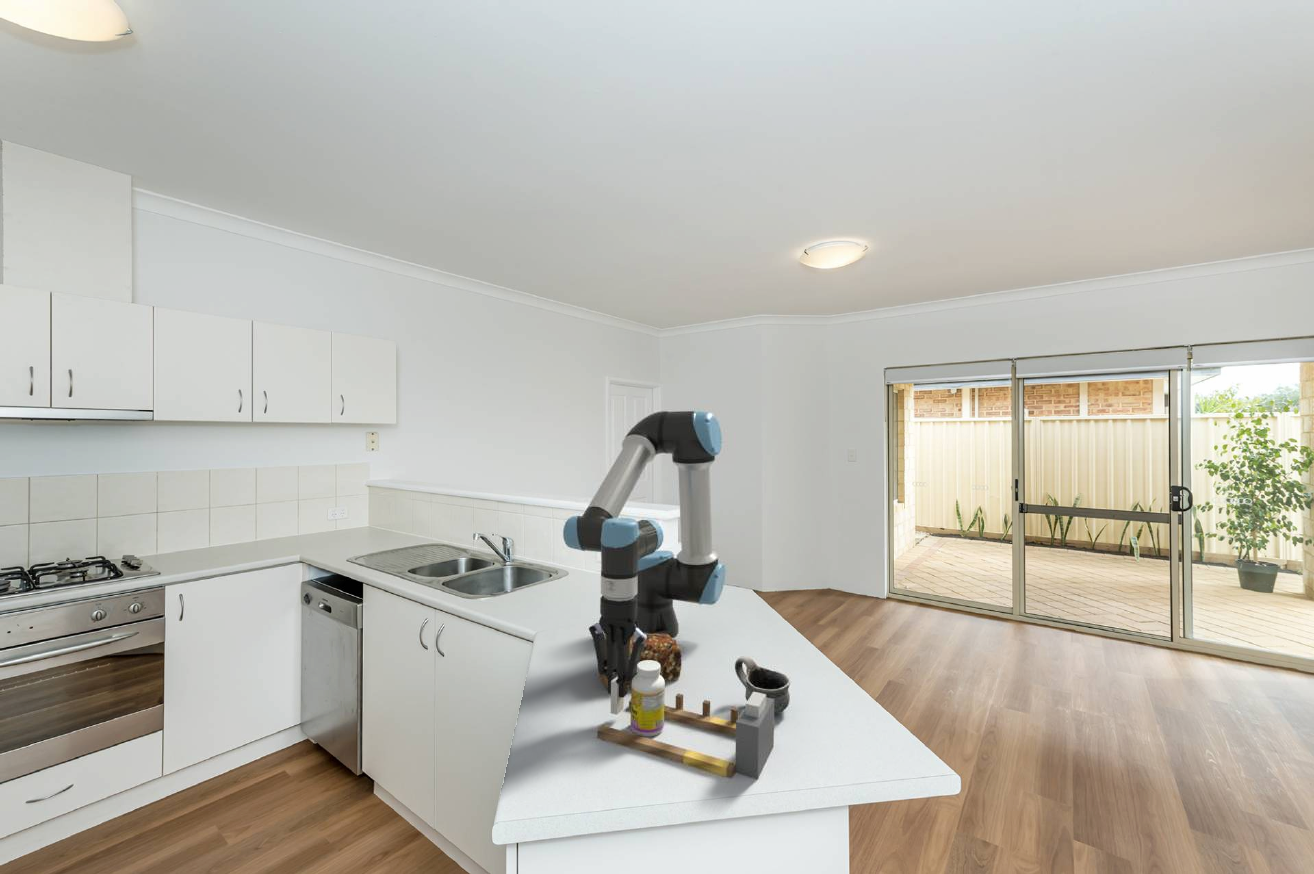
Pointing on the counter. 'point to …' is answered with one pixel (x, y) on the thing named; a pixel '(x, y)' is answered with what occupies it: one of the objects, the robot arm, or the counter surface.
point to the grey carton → (754, 735)
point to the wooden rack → (679, 753)
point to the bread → (657, 656)
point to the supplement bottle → (647, 699)
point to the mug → (764, 682)
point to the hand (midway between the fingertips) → (617, 710)
